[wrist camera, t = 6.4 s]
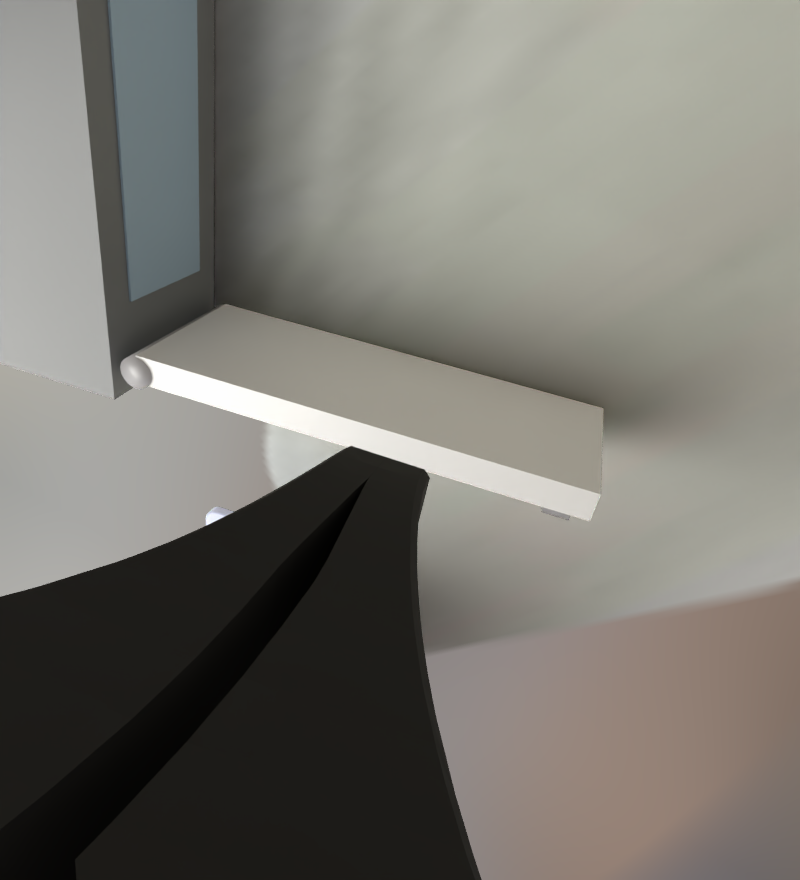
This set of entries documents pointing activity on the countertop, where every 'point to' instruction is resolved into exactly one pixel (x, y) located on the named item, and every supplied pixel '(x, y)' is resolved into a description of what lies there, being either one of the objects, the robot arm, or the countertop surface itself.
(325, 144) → the countertop surface
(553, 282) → the countertop surface
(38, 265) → the camera body
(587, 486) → the side door
